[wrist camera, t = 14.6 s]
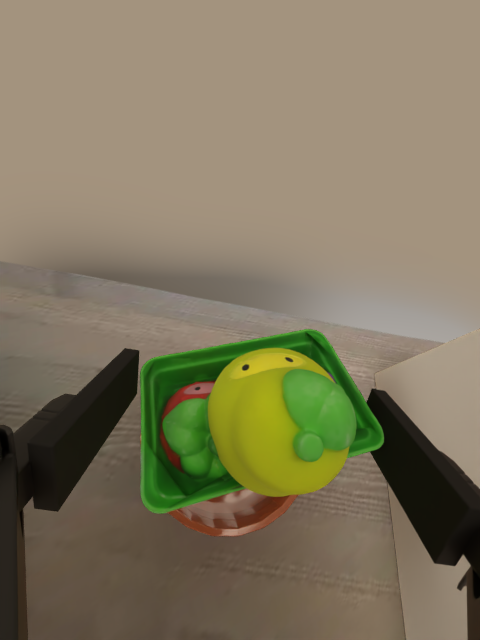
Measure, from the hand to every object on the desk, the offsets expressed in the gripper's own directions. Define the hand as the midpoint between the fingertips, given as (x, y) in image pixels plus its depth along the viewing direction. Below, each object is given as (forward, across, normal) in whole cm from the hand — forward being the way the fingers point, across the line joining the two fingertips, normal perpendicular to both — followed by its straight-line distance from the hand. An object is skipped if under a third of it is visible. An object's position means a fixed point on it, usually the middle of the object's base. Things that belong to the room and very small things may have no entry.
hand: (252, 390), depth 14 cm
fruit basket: (+1, +1, -5) cm, 5 cm away
